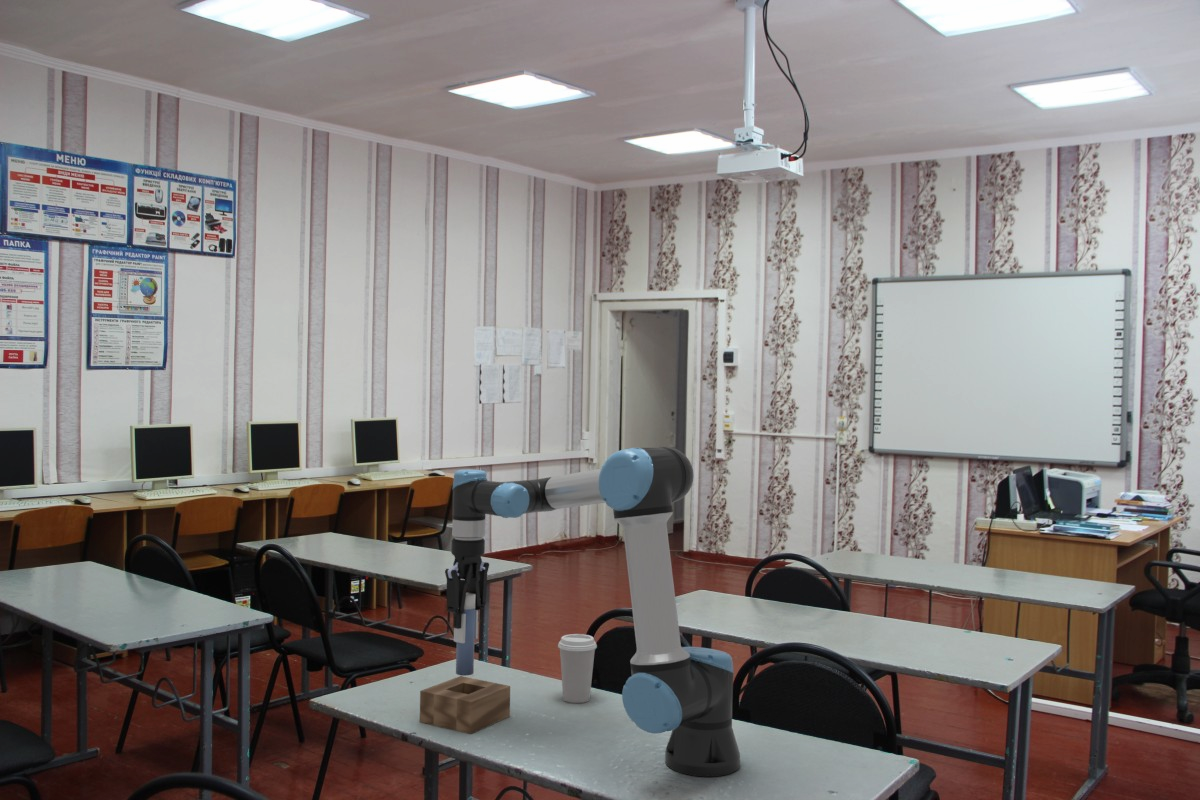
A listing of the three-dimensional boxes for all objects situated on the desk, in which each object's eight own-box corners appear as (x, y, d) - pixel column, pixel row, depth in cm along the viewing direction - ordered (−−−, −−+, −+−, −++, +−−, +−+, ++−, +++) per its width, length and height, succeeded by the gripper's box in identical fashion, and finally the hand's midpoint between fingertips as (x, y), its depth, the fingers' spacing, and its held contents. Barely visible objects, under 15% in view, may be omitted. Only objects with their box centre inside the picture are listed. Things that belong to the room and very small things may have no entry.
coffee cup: (603, 697, 246) (604, 636, 246) (581, 707, 238) (583, 644, 238) (571, 691, 251) (572, 631, 251) (549, 700, 243) (550, 638, 243)
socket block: (509, 716, 230) (510, 686, 230) (470, 734, 218) (471, 702, 218) (460, 705, 238) (460, 676, 238) (419, 721, 225) (420, 690, 225)
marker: (477, 672, 229) (479, 594, 228) (466, 676, 225) (468, 596, 225) (463, 669, 231) (465, 591, 230) (452, 673, 227) (454, 594, 227)
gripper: (478, 532, 237) (475, 630, 237) (431, 540, 222) (428, 645, 222) (503, 535, 233) (501, 635, 233) (457, 543, 218) (455, 650, 219)
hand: (465, 639), depth 228 cm, fingers closed on marker, 4 cm apart
